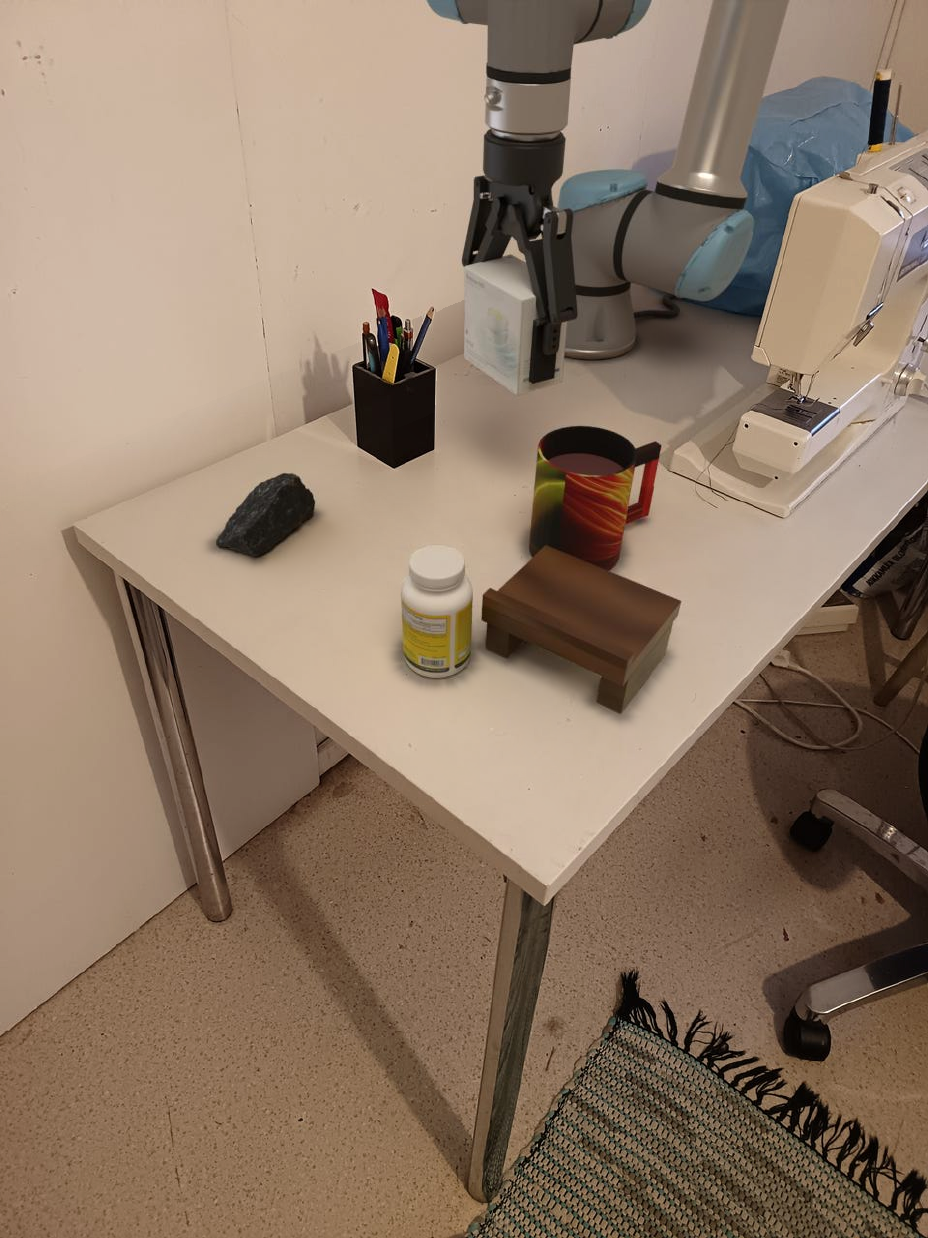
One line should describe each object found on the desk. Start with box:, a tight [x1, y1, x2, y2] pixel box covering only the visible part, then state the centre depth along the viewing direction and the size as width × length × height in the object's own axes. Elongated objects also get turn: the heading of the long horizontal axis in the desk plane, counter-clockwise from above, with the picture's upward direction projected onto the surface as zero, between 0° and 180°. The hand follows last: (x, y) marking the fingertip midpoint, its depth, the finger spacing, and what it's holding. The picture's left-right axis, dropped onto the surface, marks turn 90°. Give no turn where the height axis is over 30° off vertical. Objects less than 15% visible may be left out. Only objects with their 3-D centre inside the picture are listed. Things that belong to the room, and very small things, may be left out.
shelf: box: [480, 545, 682, 715], centre depth 79 cm, size 11×14×7 cm
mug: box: [528, 425, 662, 571], centre depth 90 cm, size 10×14×12 cm
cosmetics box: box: [463, 254, 567, 397], centre depth 92 cm, size 10×6×10 cm, turn 33°
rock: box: [215, 472, 316, 557], centre depth 92 cm, size 7×10×6 cm
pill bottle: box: [400, 544, 474, 679], centre depth 76 cm, size 6×6×11 cm
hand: (512, 358), depth 95 cm, fingers closed on cosmetics box, 11 cm apart
